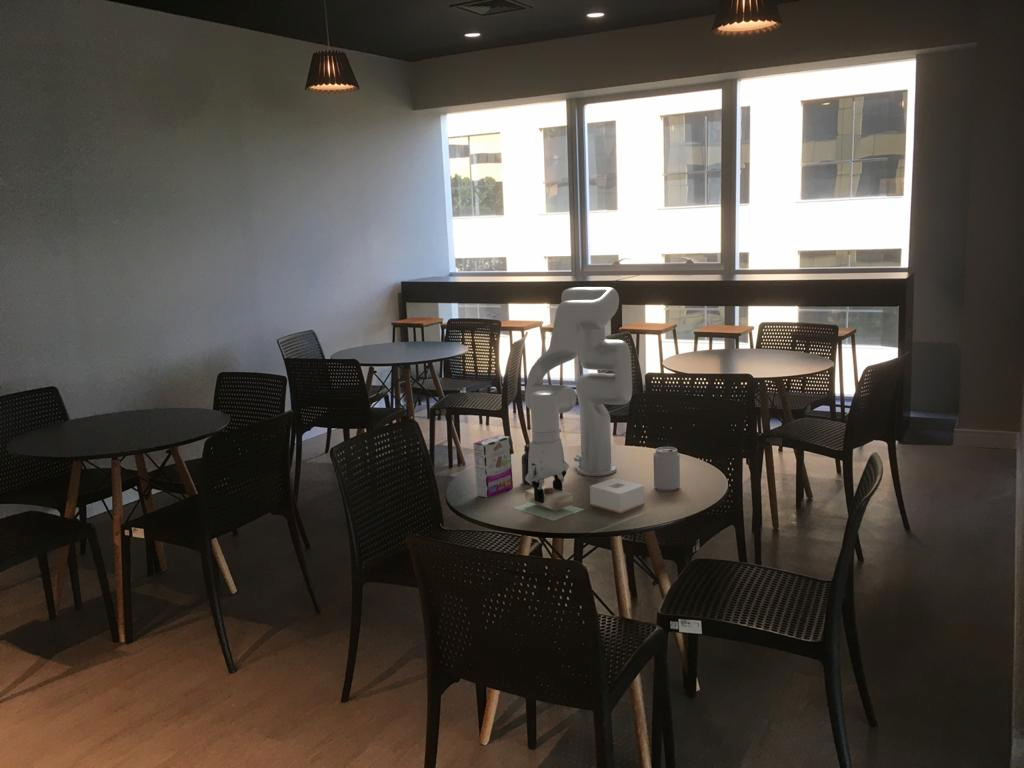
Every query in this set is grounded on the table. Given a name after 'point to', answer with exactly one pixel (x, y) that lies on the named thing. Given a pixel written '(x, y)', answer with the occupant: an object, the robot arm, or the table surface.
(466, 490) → the table surface
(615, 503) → the gray block
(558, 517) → the mat
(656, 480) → the can
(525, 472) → the supplement bottle
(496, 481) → the candy bar box
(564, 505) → the lid
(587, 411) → the robot arm
